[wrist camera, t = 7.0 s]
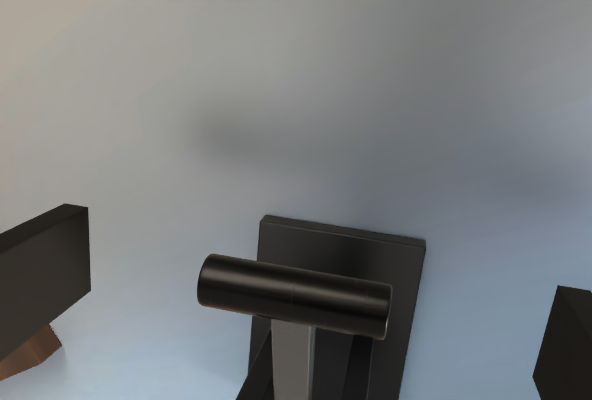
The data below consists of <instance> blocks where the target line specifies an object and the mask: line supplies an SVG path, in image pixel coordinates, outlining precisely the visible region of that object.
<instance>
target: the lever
mask: <svg viewBox="0 0 592 400" xmlns="http://www.w3.org/2000/svg"><path fill="white" fill-rule="evenodd" d="M197 298H198V302H199V304H201V305H202V306H206V307H211V308H216V309H221V310H227V311H232V312H237V313H242V314H248V315H253V316H258V317H263V318H268V319H271V329H272V357H273V384H274V400H312V385H313V367H314V348H315V330H316V328H321V329H326V330H331V331H336V332H342V333H347V334H352V335H357V336H363V337H368V338H373V339H378V340H384V338H385V337H386V332H387V327H388V321H389V314H390V307H391V299H392V285H390V284H385V283H380V282H374V281H368V280H362V279H357V278H351V277H345V276H339V275H334V274H328V273H322V272H316V271H310V270H305V269H299V268H293V267H287V266H282V265H276V264H270V263H264V262H259V261H253V260H247V259H241V258H236V257H230V256H224V255H218V254H210V255H209V256H208V257H207V258H206V259H205V261H204V263H203V265H202V268H201V271H200V274H199V279H198V285H197Z"/></svg>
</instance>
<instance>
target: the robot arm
mask: <svg viewBox="0 0 592 400" xmlns="http://www.w3.org/2000/svg"><path fill="white" fill-rule="evenodd" d="M90 291H91V279H90V249H89V220H88V207H83V206H77V205H71V204H63V205H60V206H58V207H56V208H54V209H52V210H50V211H48V212H46V213H43V214H41V215H39V216H37V217H35V218H33V219H31V220H29V221H27V222H24V223H22V224H20V225H18V226H16V227H14V228H12V229H10V230H7V231H5V232H3V233H1V234H0V362H1V361H2V360H3V359H4V358H6V357H7V356H8V355H10V354H11V353H12V352H13V351H15V350H16V349H17V348H18V347H20V346H21V345H22V344H24V343H25V342H26V341H27V340H29V339H30V338H31V337H32V336H34V335H35V334H36V333H38V332H39V331H40V330H41V329H43V328H44V327H45V326H46V325H48V324H49V323H50V322H52V321H53V320H54V319H55V318H57V317H58V316H59V315H60V314H62V313H63V312H64V311H66V310H67V309H68V308H69V307H71V306H72V305H73V304H74V303H76V302H77V301H78V300H80V299H81V298H82V297H83V296H85V295H86V294H87V293H88V292H90ZM533 379H534V382H535V385H536V387H537V390H538V393H539V395H540V398H541V400H592V293H591V291H589V290H583V289H577V288H571V287H565V286H559V285H558V286H557V290H556V294H555V297H554V301H553V304H552V308H551V312H550V315H549V319H548V323H547V326H546V330H545V333H544V337H543V341H542V344H541V348H540V351H539V355H538V359H537V362H536V366H535V369H534V373H533Z"/></svg>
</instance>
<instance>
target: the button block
mask: <svg viewBox="0 0 592 400" xmlns="http://www.w3.org/2000/svg"><path fill="white" fill-rule="evenodd" d="M60 347H61V344H60V342H59V341H58V339H57V337H56V336H55V334H54V333H53V331H52V329H51V328H50V326H49V325H46V326H45V327H44V328H43V329H41V330H40V331H39V332H38V333H36V334H35V335H34V336H32V337H31V338H30V339H29V340H27V341H26V342H25V343H24V344H22V345H21V346H20V347H18V348H17V349H16V350H15V351H13V352H12V353H11V354H10V355H8V356H7V357H6V358H4V359H3V360H2V361H1V362H0V381H1V380H3V379H6V378H8V377H10V376H13V375H15V374H18V373H20V372H22V371H25V370H27V369H30V368H32V367H35V366H37V365H39V364H41V363H42V362H44V361H45V360H46V359H47V358H48V357H49V356H51V355H52V354H53V353H54V352H55V351H56V350H57V349H59V348H60Z"/></svg>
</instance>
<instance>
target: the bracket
mask: <svg viewBox="0 0 592 400" xmlns="http://www.w3.org/2000/svg"><path fill="white" fill-rule="evenodd" d="M425 251H426V245H425V241H424V240H420V239H414V238H408V237H401V236H395V235H389V234H382V233H376V232H370V231H363V230H357V229H351V228H344V227H338V226H332V225H325V224H319V223H313V222H306V221H300V220H294V219H287V218H281V217H275V216H269V215H265V216H264V217H263V219H262V220H261V221H260V227H259V240H258V252H257V261H259V262H264V263H270V264H276V265H282V266H287V267H293V268H299V269H305V270H310V271H316V272H322V273H328V274H334V275H339V276H345V277H351V278H357V279H362V280H368V281H374V282H380V283H385V284H390V285H392V299H391V307H390V314H389V321H388V327H387V332H386V337H385V338H384V340H378V339H373V338H368V337H363V336H357V335H352V334H347V333H342V332H336V331H331V330H326V329H321V328H316V330H315V348H314V367H313V385H312V400H398V398H399V393H400V387H401V382H402V376H403V371H404V366H405V360H406V355H407V349H408V344H409V338H410V333H411V327H412V322H413V316H414V311H415V305H416V300H417V294H418V289H419V284H420V278H421V273H422V267H423V262H424V256H425ZM236 400H274V384H273V357H272V329H271V319H268V318H263V317H258V316H252V328H251V341H250V353H249V366H248V376H247V378H246V380H245V382H244V384H243V386H242V388H241V390H240V392H239V394H238V396H237V398H236Z"/></svg>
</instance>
